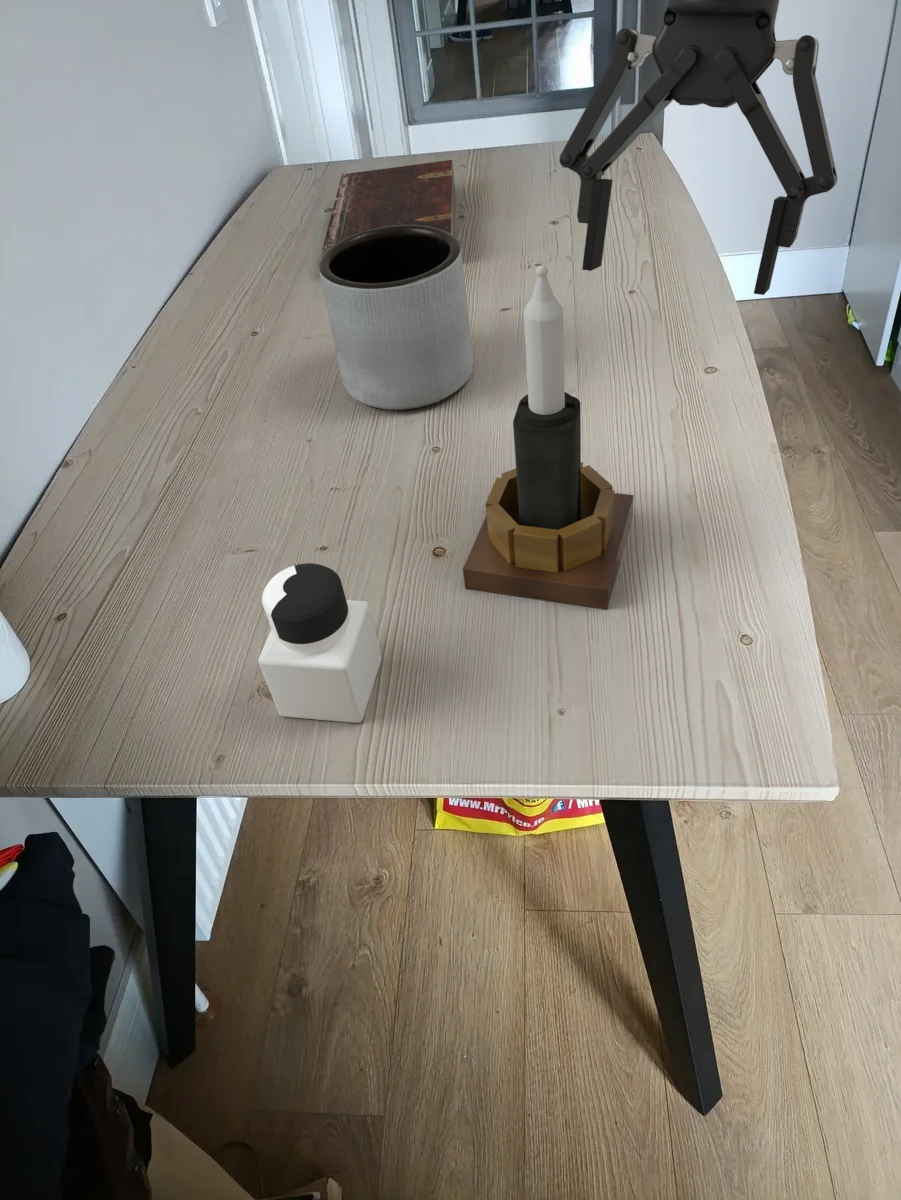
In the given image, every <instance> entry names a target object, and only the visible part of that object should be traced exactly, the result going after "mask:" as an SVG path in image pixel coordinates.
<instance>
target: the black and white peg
mask: <svg viewBox="0 0 901 1200" xmlns="http://www.w3.org/2000/svg"><path fill="white" fill-rule="evenodd" d="M548 272H549V269H548V268H547V267H546V266H545V265H543V264H541V265H539V266H538V267H537V268H536V270H535V273H536V275H537V277H536V281H535V285H534V288H533V292H532V296H531V298H530V300H529V301H528V303H527V304H526V306H525V307H524V310H523V325H524V326H523V327H524V343H525V361H526V362H525V365H526V379H527V380H526V382H527V383H526V384H527V394H526V395H524V396H523V397H522V398H521V399H520V400H519V402H518V405H517V407H516V412H515V414H514V417H513V420H512V429H513V442H514V456H515V457H514V459H515V468H516V473H517V488H518V503H519V517H520V525H523V526H531V527H539V528H547V529H555V530H559V529H561V528H564V527H566V526H568V525H571V524H573V523H575V522H578V521H580V520H581V462H582V459H581V457H582V456H581V453H582V451H581V450H582V449H581V447H582V446H581V440H582V439H581V438H582V437H581V436H582V435H581V433H582V432H581V431H582V429H581V426H582V425H581V401H580V399H579V398H577V397H576V396H573V395H571V394H570V393H568V392H566V390H565V346H564V345H565V341H564V338H565V337H564V308H563V306H562V304H561V303H560V301H559V300H558V299H557V298H556V297H555V295H554V293H553V290H552V286H551V284H550V282H549V278H548V276H547V275H548Z"/></svg>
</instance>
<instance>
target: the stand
mask: <svg viewBox="0 0 901 1200" xmlns="http://www.w3.org/2000/svg"><path fill="white" fill-rule="evenodd" d="M500 476H501V477H497V476H496V478H495V480H494V483H493V485H492V487H491V490H490V492H489V493H488V496H487V499H486V501H485V505H484V506H485V513H486V514H485V517H484V520H483V521H482V524H481V526H480V529H479V531H478V533H477V535H476V538H475V540H474V542H473V545H472V547H471V549H470V551H469V553H468V556H467V559H466V560H465V563H464V565H463V567H462V574H463V581H464V588H465V589H466V590H473V591H477V592H486V593H493V594H498V595H505V596H506V595H507V596H512V597H519V598H520V597H521V598H525V599H526V598H527V599H533V600H541V601H545V602H554V603H560V604H567V605H573V606H579V607H587V608H593V609H601V610H608V609H609V605H610V602H611V598H612V594H613V591H614V587H615V584H616V579H617V575H618V572H619V568H620V565H621V560H622V557H623V553H624V549H625V546H626V542H627V538H628V535H629V530H630V526H631V523H632V520H633V516H634V499H635V496H634V494H629V493H628V494H627V493H621V492H620V493H618V492H615V490H613V485H612V484H611V483H610V482H609V481H608V480H607V479H605V477H604V476H602V475H601V474H600V473H599V472H598V471H596V470H595V468H593V467H592V466H591V465H589V464H588V465H585V466H584V462H582V461H581V520H580V521H578V522H575V523H573V524H571V525H568V526H566V527H564V528H561V529H559V530H555V529H547V528H539V527H531V526H523V525H520V517H519V503H518V488H517V473H516V467H515V468H513V469H510V470H508V471H507V470H506V471H505V472H503V473H501V474H500Z"/></svg>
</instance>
